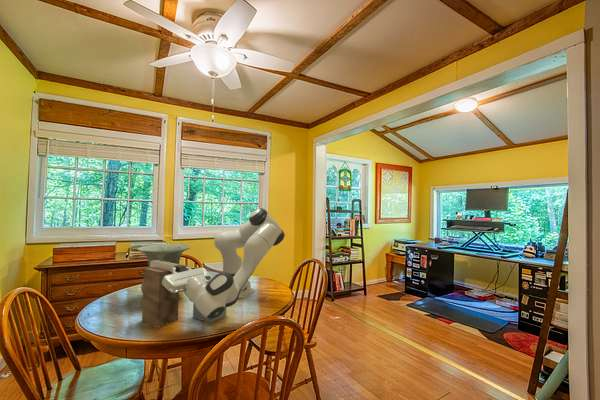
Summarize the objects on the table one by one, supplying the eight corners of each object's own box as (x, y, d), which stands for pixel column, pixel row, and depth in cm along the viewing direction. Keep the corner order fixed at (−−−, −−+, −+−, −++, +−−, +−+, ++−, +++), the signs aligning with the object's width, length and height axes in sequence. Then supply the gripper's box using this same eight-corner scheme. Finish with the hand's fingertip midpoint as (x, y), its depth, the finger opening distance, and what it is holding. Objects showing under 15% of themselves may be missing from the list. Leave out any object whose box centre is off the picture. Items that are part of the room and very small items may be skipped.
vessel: (148, 313, 135) (151, 252, 136) (126, 301, 151) (128, 246, 152) (198, 299, 156) (199, 247, 157) (174, 290, 172) (175, 242, 173)
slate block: (209, 310, 140) (210, 271, 141) (226, 315, 134) (227, 274, 135) (192, 316, 132) (194, 275, 132) (210, 322, 126) (211, 279, 126)
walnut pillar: (162, 314, 134) (164, 265, 135) (177, 319, 128) (179, 268, 129) (141, 321, 125) (144, 268, 126) (157, 327, 119) (159, 272, 120)
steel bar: (156, 266, 132) (156, 259, 132) (185, 272, 121) (186, 265, 121) (150, 267, 130) (150, 260, 130) (179, 273, 119) (180, 266, 119)
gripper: (169, 300, 107) (152, 278, 114) (210, 287, 125) (194, 268, 131) (175, 287, 106) (157, 265, 112) (216, 276, 123) (198, 258, 130)
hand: (177, 267), depth 122 cm, fingers open, 4 cm apart
